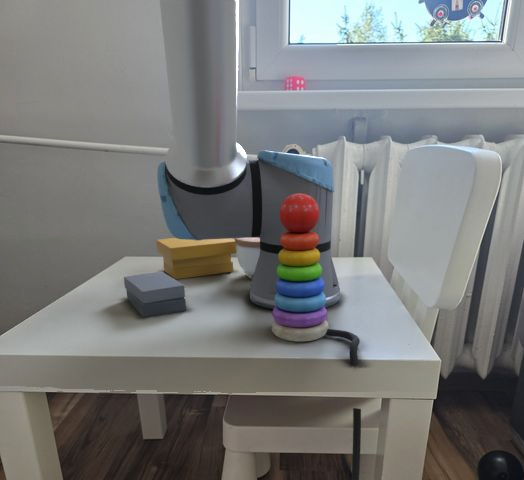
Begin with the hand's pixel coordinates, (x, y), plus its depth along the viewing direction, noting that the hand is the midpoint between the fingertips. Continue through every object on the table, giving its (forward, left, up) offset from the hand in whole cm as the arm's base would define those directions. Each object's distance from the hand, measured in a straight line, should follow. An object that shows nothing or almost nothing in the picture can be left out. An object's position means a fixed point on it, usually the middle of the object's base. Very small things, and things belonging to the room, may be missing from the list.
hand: (206, 151), depth 97 cm
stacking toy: (-43, +4, -23) cm, 49 cm away
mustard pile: (-2, +4, -23) cm, 23 cm away
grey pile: (-20, +18, -23) cm, 35 cm away
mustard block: (-2, +4, -19) cm, 20 cm away
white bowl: (-12, -6, -23) cm, 27 cm away
